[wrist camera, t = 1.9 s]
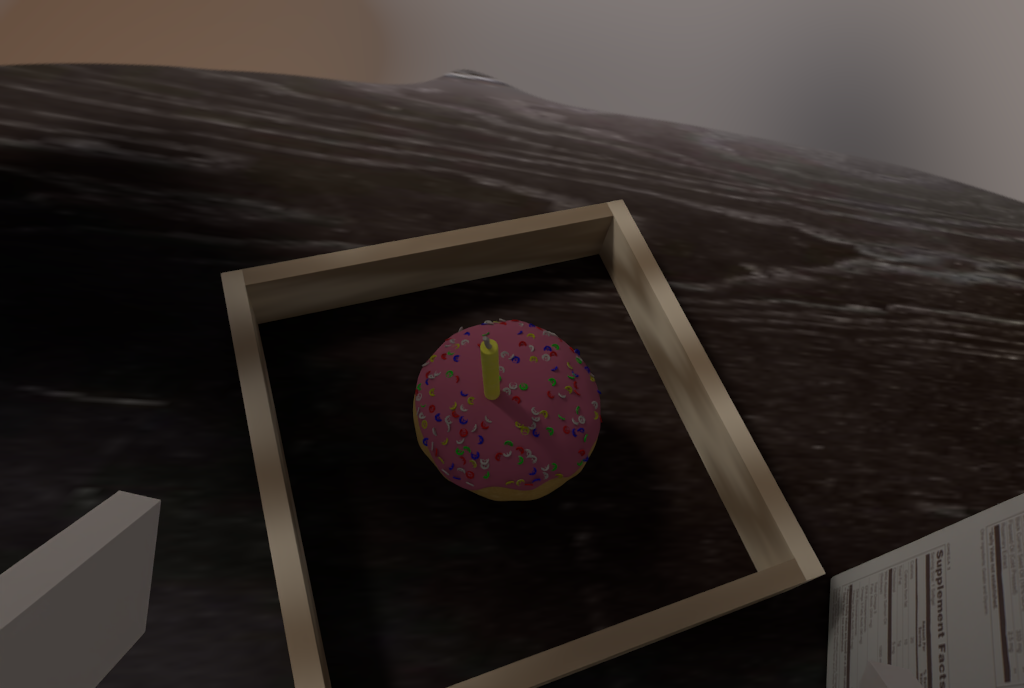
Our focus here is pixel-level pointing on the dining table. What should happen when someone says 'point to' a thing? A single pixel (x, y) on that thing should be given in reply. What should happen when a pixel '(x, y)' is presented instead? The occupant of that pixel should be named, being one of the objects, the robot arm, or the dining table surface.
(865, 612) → the supplement box
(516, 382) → the cupcake
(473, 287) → the dining table surface
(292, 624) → the birch box
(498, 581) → the dining table surface
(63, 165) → the dining table surface
